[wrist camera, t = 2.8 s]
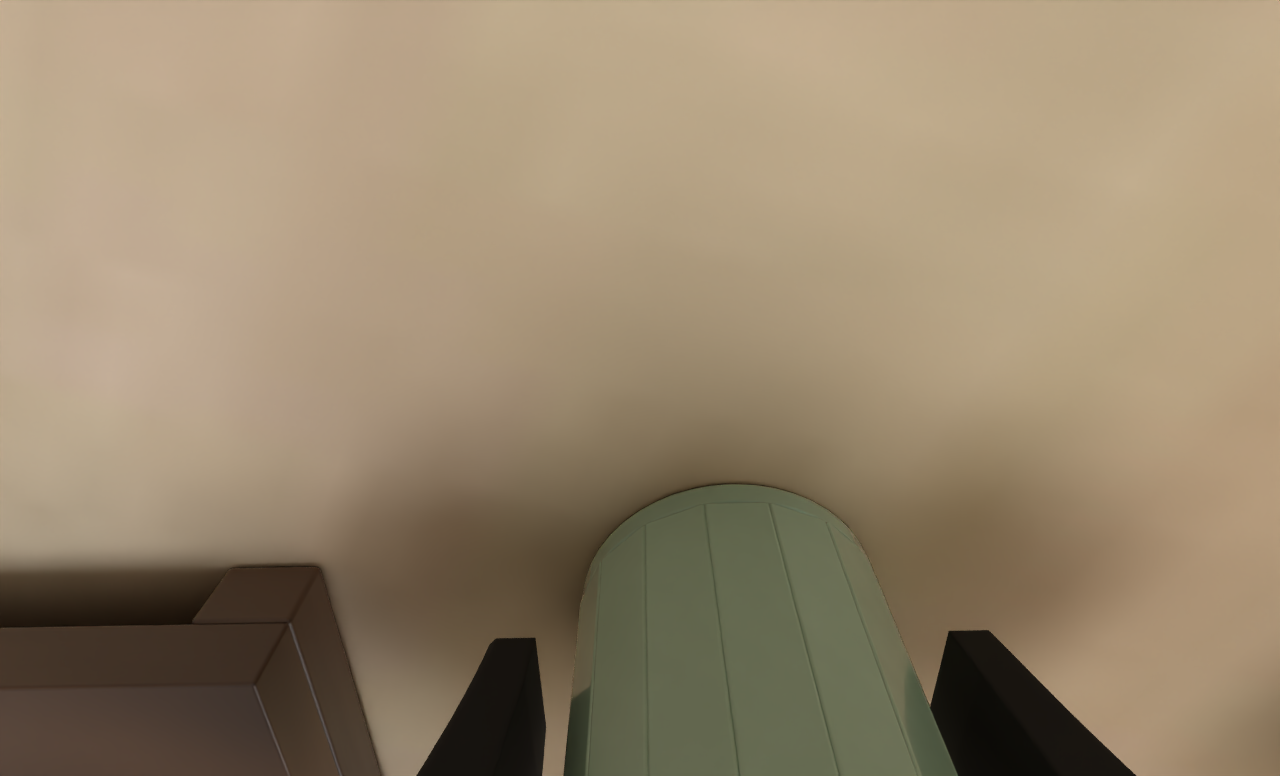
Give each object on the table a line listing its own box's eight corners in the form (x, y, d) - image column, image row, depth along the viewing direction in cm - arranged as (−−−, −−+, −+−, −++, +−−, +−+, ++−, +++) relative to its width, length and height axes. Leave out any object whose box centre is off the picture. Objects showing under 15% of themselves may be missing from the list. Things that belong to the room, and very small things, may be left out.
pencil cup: (853, 696, 14) (1001, 1171, 8) (591, 700, 14) (558, 1176, 8) (891, 479, 12) (1132, 936, 6) (574, 485, 12) (514, 944, 6)
